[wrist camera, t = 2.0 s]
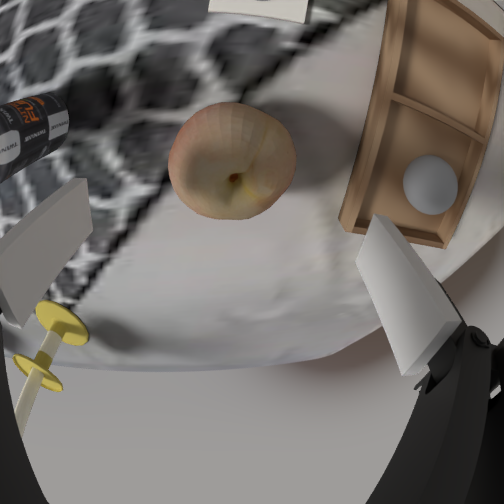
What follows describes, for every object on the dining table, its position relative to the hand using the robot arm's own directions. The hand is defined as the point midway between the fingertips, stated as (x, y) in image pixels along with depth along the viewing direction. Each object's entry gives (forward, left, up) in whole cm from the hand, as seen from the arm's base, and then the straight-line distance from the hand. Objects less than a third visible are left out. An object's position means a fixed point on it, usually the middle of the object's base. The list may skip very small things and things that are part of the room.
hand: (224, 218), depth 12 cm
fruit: (0, 0, -12) cm, 12 cm away
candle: (+27, -24, -12) cm, 38 cm away
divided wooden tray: (-7, +16, -11) cm, 21 cm away
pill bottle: (-2, -18, -12) cm, 22 cm away
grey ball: (-2, +16, -11) cm, 19 cm away
